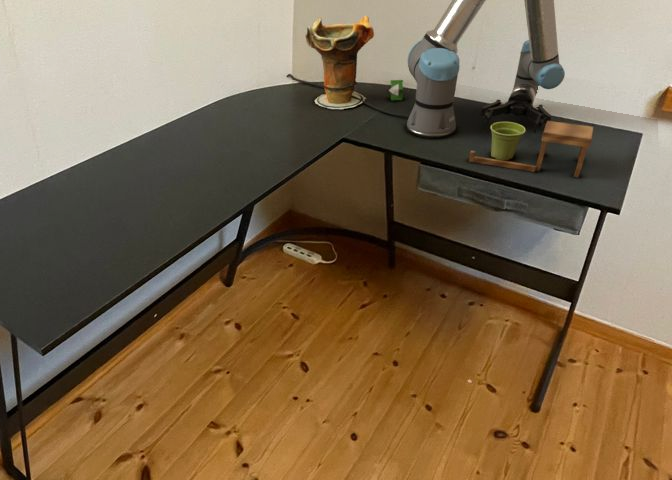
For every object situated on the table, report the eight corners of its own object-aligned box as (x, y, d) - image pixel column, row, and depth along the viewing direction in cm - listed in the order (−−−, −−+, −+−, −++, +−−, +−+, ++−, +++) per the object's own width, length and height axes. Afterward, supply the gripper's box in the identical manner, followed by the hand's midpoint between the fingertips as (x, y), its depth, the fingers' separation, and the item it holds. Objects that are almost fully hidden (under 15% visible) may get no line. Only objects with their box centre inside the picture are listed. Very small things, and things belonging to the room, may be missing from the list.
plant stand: (468, 161, 174) (475, 124, 167) (477, 144, 183) (484, 108, 176) (579, 179, 163) (591, 140, 156) (583, 160, 172) (594, 122, 165)
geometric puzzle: (384, 88, 218) (388, 74, 210) (403, 87, 217) (407, 74, 210) (386, 105, 216) (389, 92, 208) (405, 105, 216) (409, 92, 208)
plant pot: (520, 164, 171) (527, 135, 166) (486, 162, 173) (492, 133, 168) (516, 150, 178) (523, 122, 173) (483, 148, 180) (489, 120, 175)
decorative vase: (308, 89, 225) (308, 9, 208) (370, 91, 222) (375, 9, 205) (301, 110, 209) (301, 25, 192) (368, 112, 205) (374, 25, 188)
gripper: (560, 117, 190) (553, 143, 175) (479, 107, 199) (466, 131, 184) (566, 93, 185) (559, 118, 170) (483, 84, 194) (470, 107, 179)
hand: (511, 125), depth 177 cm, fingers open, 13 cm apart
